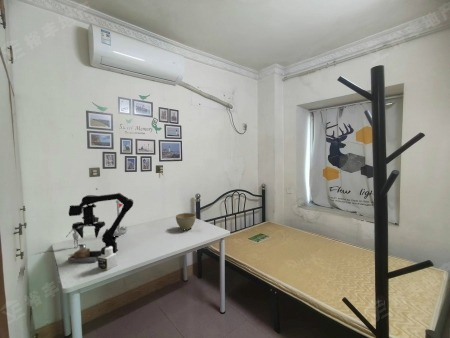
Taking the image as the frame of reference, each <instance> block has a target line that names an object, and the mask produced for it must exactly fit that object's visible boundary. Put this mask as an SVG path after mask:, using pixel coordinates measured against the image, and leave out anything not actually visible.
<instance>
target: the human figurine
mask: <svg viewBox="0 0 450 338" xmlns="http://www.w3.org/2000/svg"><path fill="white" fill-rule="evenodd" d="M74 223H75V222H73V223H72V225H73V224H74ZM71 232H73V233H72V237H73V244H74V249H77V248H79V246H78V245H79V244H78V243H79V236H80V235H79V233H78V232H77V231H76V230H74V229H72V228H71V231H69V232H68V234H67V235H66V236H65V238H67V237H69V235H70V234H71ZM84 233H85V231H84V230H83V234H84Z"/></svg>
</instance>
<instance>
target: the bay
mask: <svg viewBox="0 0 450 338" xmlns="http://www.w3.org/2000/svg"><path fill="white" fill-rule="evenodd" d="M86 247H87V246H86V244H78V248H79V249H87V248H86ZM99 256H101V250H90V256H89V257H88V258H75V257H74V253H73V254H71V255H70V256H69V257H68V259H67V261H68V263H69V264H83V263H84V264H86V263H96V262H98V257H99Z"/></svg>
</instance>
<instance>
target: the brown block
mask: <svg viewBox="0 0 450 338" xmlns="http://www.w3.org/2000/svg"><path fill="white" fill-rule="evenodd" d="M90 251H91V249H90V248H86V249H80V248H79V249H78V250H76V251H75V252H74V253H73V254H74V257H75V258H88V257H89V256H90Z"/></svg>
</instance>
